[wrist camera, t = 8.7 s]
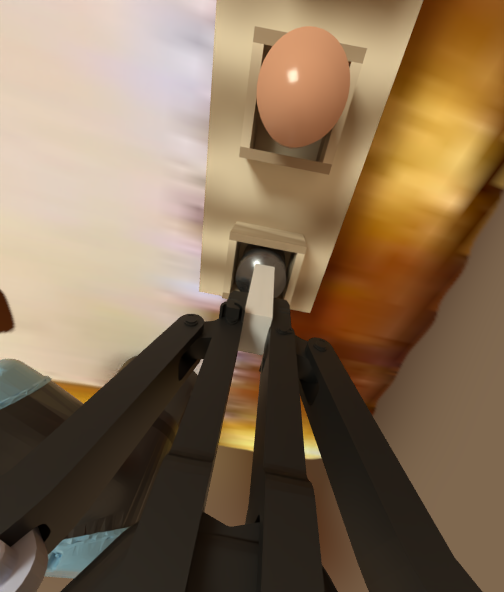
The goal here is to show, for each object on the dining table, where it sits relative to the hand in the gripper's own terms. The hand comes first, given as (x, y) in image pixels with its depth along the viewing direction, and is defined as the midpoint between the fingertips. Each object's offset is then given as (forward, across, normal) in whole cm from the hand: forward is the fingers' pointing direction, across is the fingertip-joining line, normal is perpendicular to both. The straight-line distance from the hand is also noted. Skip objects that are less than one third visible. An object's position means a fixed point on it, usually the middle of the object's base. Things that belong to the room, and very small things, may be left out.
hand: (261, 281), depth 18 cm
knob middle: (+2, 0, -11) cm, 11 cm away
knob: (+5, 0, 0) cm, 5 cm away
